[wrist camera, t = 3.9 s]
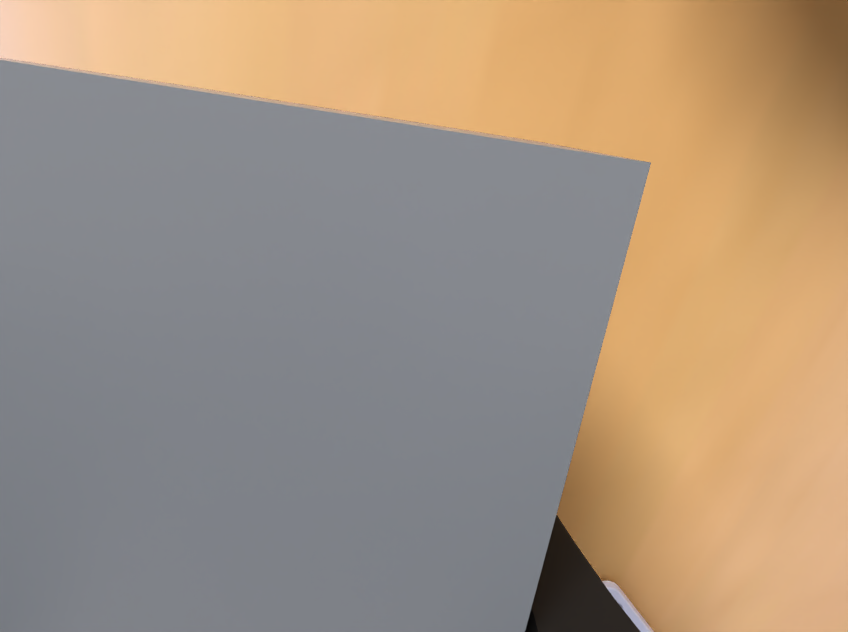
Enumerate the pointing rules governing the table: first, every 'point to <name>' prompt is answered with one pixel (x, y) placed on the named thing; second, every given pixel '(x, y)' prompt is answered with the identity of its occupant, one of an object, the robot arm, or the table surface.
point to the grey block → (286, 359)
